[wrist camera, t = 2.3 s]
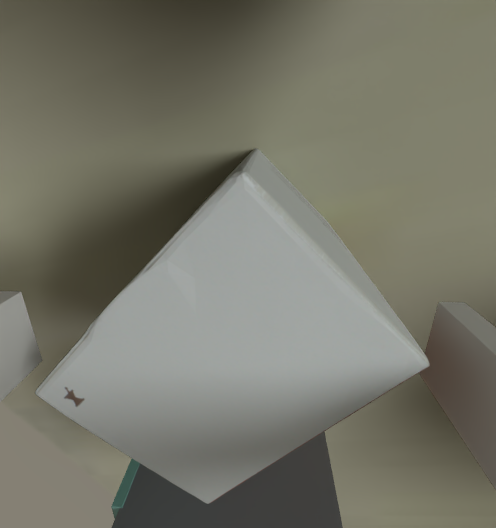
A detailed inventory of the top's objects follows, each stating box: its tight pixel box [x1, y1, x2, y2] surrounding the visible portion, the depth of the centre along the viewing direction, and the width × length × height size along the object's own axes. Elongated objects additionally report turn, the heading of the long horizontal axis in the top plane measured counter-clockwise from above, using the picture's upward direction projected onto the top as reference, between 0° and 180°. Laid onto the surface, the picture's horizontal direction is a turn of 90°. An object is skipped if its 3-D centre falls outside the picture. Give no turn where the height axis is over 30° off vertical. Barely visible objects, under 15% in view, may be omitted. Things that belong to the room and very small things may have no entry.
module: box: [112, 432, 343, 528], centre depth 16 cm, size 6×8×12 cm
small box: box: [35, 148, 430, 504], centre depth 13 cm, size 8×6×13 cm
